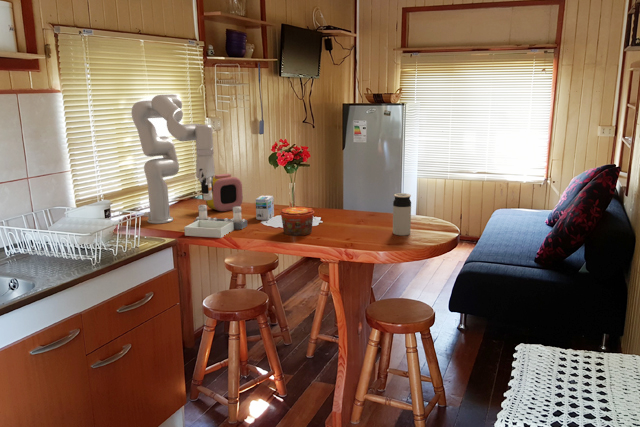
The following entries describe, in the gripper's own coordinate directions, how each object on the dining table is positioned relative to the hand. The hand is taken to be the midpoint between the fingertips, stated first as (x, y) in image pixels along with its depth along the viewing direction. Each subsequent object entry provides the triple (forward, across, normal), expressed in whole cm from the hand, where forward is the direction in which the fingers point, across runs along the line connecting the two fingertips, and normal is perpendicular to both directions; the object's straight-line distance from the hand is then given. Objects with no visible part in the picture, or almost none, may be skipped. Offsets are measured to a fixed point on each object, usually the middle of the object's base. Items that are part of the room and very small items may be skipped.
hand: (207, 192), depth 248 cm
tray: (+19, 0, 0) cm, 19 cm away
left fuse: (+19, -12, -9) cm, 24 cm away
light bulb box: (+19, -34, +15) cm, 42 cm away
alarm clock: (+19, -48, -14) cm, 54 cm away
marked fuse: (+3, 0, 0) cm, 3 cm away
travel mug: (+20, -17, +87) cm, 91 cm away
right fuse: (+19, -12, +9) cm, 24 cm away
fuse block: (+19, -12, 0) cm, 23 cm away
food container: (+20, -9, +40) cm, 45 cm away
